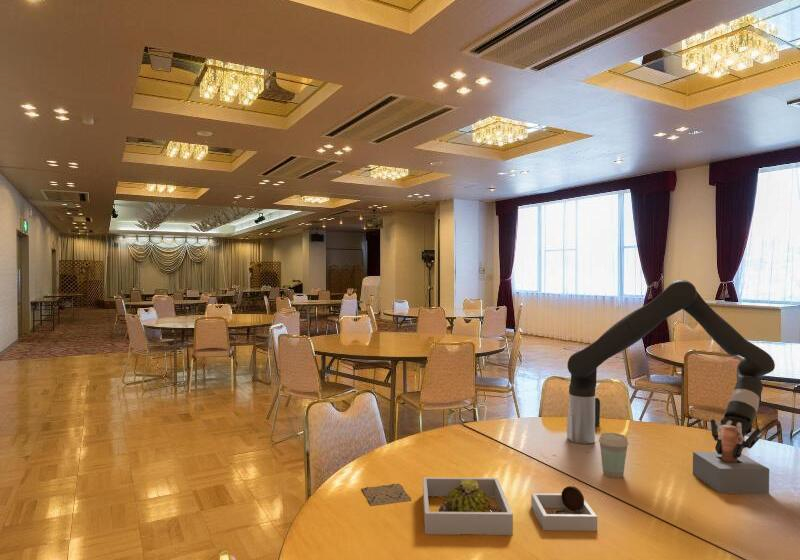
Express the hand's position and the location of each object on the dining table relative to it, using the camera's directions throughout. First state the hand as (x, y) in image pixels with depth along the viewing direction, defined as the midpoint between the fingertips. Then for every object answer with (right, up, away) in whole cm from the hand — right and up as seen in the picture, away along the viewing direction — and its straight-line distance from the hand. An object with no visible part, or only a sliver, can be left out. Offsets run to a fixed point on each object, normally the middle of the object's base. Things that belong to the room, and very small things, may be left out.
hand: (726, 454), depth 155 cm
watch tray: (-55, -9, -21) cm, 59 cm away
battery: (-18, -8, +61) cm, 64 cm away
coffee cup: (-30, -9, +8) cm, 33 cm away
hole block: (+2, -9, +1) cm, 9 cm away
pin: (+2, -6, +1) cm, 6 cm away
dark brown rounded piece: (-53, -10, -21) cm, 58 cm away
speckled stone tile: (-101, -10, -7) cm, 101 cm away
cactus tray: (-80, -9, -18) cm, 82 cm away
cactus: (-79, -10, -20) cm, 82 cm away
